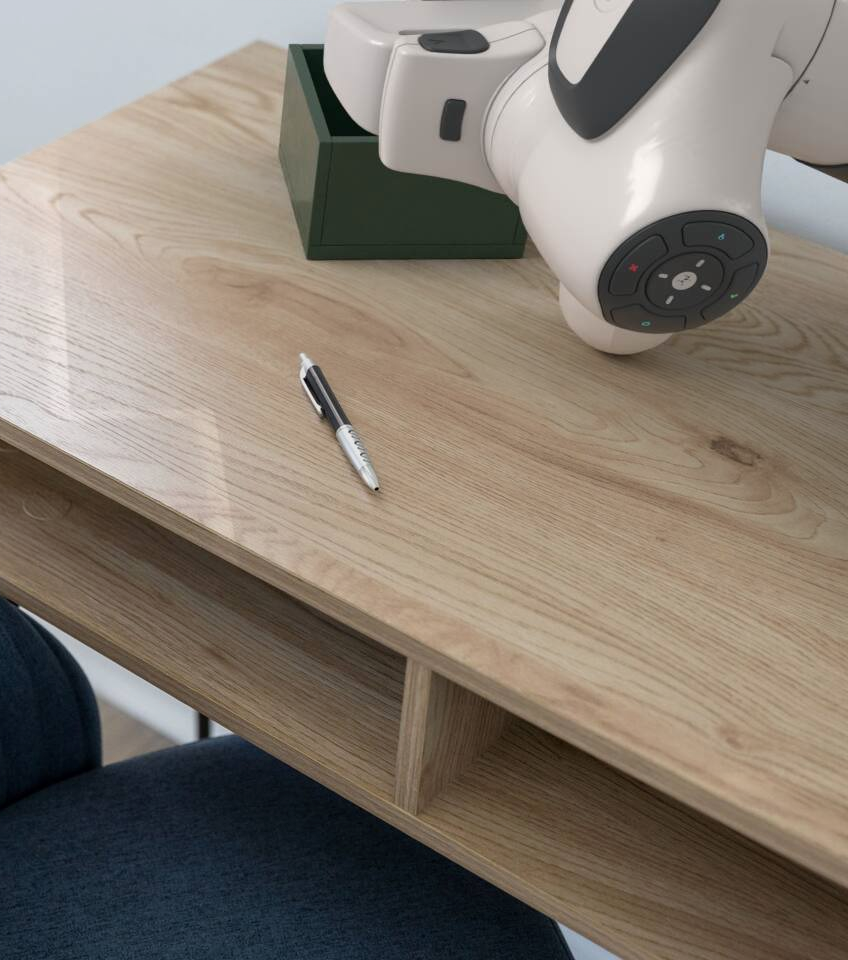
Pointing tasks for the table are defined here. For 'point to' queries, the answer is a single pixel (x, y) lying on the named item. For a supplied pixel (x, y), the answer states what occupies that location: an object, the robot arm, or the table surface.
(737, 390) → the table surface
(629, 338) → the seamed sphere
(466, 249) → the bin
